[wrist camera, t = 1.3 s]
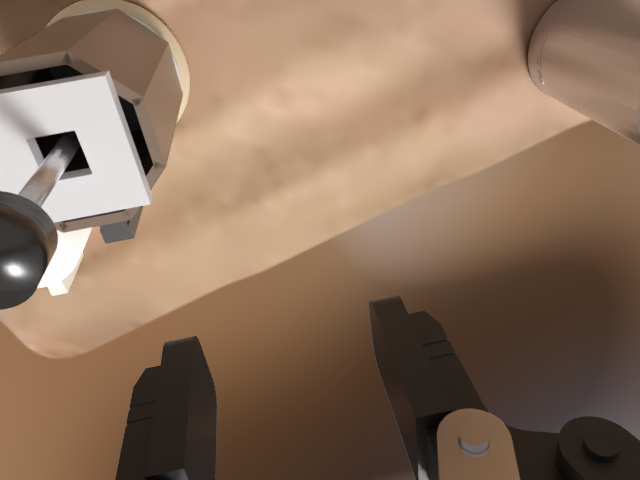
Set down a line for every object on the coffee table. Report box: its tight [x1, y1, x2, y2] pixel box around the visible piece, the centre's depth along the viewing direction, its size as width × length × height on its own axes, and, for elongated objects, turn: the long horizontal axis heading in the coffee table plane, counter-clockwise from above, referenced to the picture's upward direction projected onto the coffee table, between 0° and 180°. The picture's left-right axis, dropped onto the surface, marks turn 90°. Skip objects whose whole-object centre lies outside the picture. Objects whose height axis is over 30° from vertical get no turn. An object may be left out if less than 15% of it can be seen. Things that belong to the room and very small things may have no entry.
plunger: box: [0, 130, 81, 310], centre depth 25 cm, size 4×4×17 cm
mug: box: [37, 227, 93, 296], centre depth 41 cm, size 8×10×9 cm
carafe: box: [0, 0, 190, 243], centre depth 34 cm, size 11×13×16 cm
